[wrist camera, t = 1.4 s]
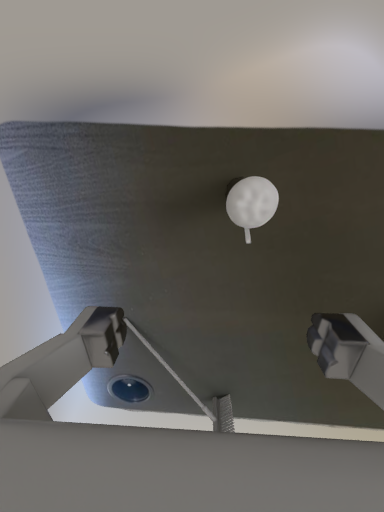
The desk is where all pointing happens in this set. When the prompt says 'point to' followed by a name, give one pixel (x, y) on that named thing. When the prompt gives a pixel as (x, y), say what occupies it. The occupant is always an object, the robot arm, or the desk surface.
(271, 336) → the desk surface
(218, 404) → the brush
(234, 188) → the milkshake
